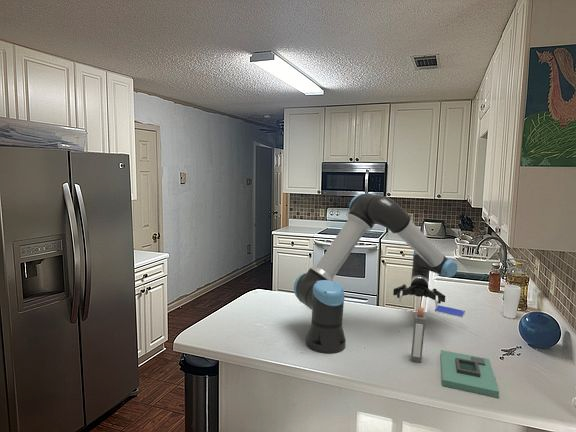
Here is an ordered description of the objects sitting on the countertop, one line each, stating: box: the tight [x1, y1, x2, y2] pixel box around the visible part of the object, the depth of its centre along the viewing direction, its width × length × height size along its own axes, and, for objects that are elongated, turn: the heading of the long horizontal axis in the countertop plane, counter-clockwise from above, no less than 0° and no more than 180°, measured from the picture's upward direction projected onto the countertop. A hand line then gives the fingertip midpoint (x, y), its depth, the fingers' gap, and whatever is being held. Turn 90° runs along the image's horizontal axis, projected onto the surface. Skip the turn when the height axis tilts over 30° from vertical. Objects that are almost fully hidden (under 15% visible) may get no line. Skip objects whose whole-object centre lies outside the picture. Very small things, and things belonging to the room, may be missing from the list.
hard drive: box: [434, 304, 466, 319], centre depth 190 cm, size 2×8×12 cm
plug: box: [410, 306, 426, 363], centre depth 141 cm, size 5×4×19 cm, turn 160°
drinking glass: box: [502, 283, 522, 320], centre depth 186 cm, size 7×7×15 cm
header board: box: [440, 349, 500, 398], centre depth 132 cm, size 22×16×3 cm
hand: (418, 301), depth 154 cm, fingers open, 13 cm apart
